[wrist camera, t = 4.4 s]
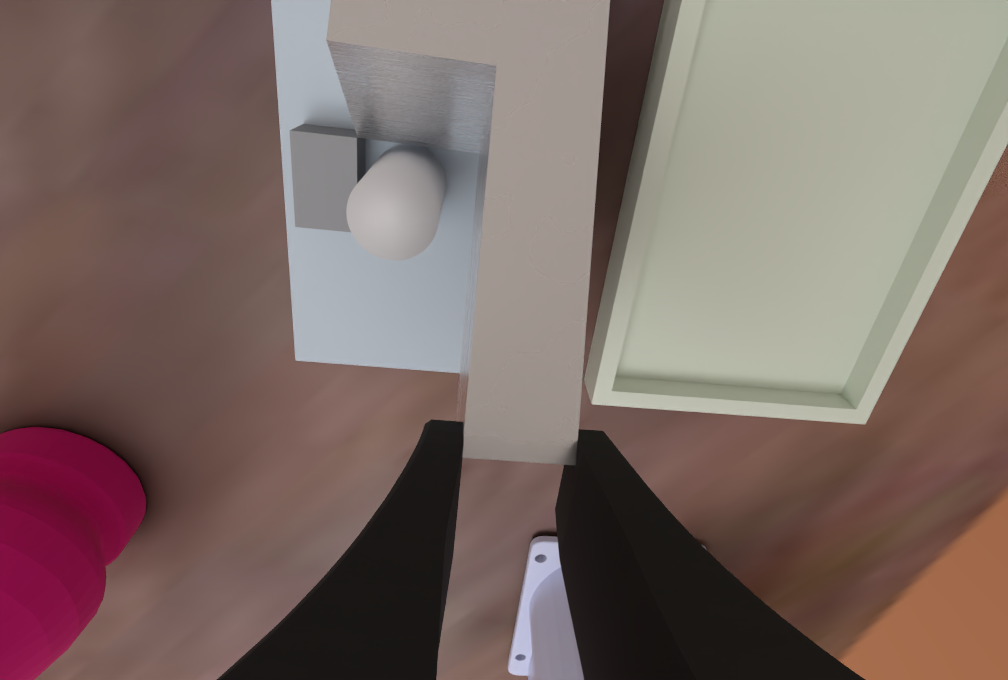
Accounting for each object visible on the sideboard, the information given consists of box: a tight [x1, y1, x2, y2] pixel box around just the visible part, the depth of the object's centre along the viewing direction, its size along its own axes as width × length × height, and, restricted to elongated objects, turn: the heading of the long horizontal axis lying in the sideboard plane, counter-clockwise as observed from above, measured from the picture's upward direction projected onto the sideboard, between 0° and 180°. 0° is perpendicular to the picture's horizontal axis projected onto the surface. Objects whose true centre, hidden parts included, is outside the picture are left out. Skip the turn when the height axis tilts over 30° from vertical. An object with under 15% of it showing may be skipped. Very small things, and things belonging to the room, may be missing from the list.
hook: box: [326, 0, 610, 465], centre depth 12 cm, size 9×5×4 cm
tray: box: [584, 0, 1008, 424], centre depth 18 cm, size 14×10×2 cm
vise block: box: [271, 0, 479, 373], centre depth 15 cm, size 12×8×6 cm, turn 173°
